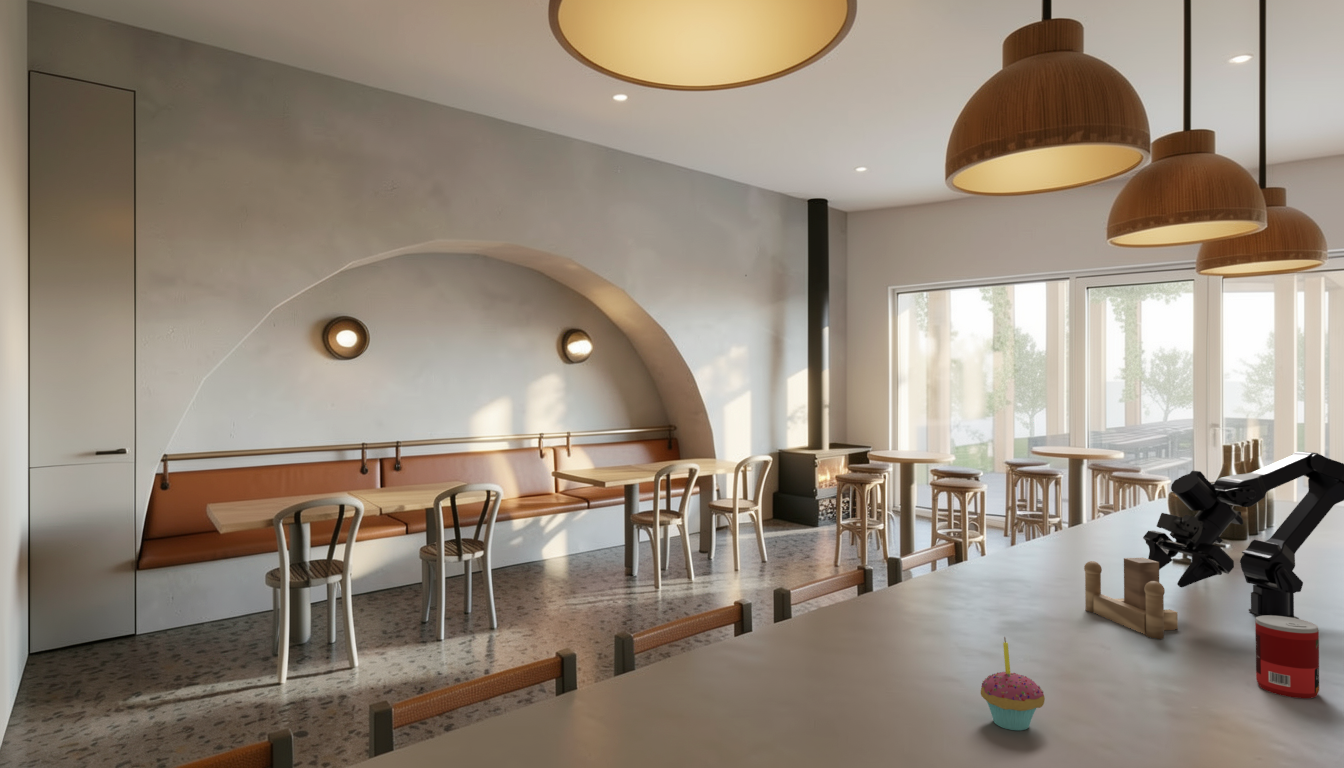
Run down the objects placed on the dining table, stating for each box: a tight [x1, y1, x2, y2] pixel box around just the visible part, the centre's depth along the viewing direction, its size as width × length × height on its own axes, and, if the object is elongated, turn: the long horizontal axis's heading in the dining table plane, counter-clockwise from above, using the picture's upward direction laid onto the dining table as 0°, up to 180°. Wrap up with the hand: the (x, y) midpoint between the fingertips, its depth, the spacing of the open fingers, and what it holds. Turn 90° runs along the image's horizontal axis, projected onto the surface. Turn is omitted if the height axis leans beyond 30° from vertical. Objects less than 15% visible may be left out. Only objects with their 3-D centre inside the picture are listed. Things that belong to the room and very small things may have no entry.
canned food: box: [1254, 615, 1320, 700], centre depth 124 cm, size 8×8×11 cm
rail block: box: [1123, 557, 1160, 611], centre depth 160 cm, size 5×5×13 cm
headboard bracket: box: [1083, 560, 1179, 640], centre depth 160 cm, size 10×21×11 cm, turn 7°
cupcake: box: [980, 636, 1046, 731], centre depth 111 cm, size 9×8×12 cm
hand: (1162, 580), depth 161 cm, fingers open, 9 cm apart
